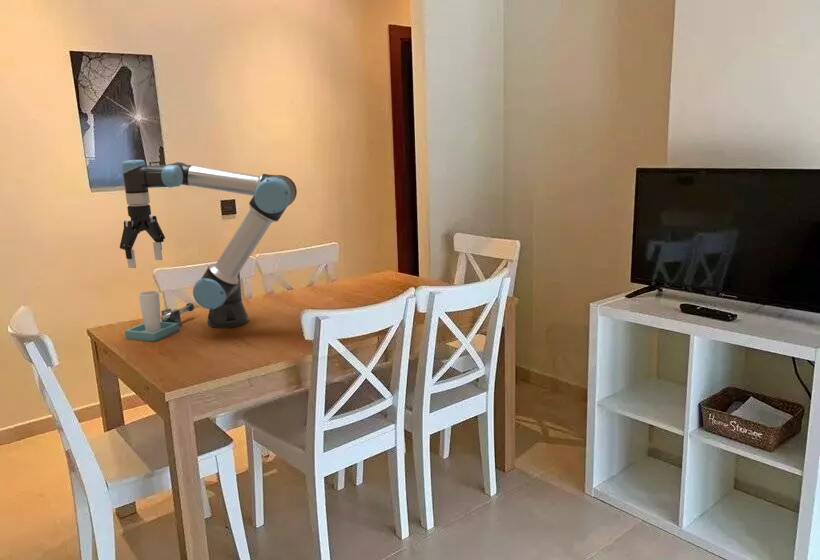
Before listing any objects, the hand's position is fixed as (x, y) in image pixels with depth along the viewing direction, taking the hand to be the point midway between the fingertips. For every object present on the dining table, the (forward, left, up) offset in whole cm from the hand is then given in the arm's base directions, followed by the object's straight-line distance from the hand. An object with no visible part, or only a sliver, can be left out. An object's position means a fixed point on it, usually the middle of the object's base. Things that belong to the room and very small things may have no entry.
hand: (145, 263), depth 230 cm
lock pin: (0, -13, -24) cm, 27 cm away
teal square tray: (0, +1, -27) cm, 27 cm away
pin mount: (0, -10, -27) cm, 28 cm away
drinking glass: (0, 0, -26) cm, 26 cm away
